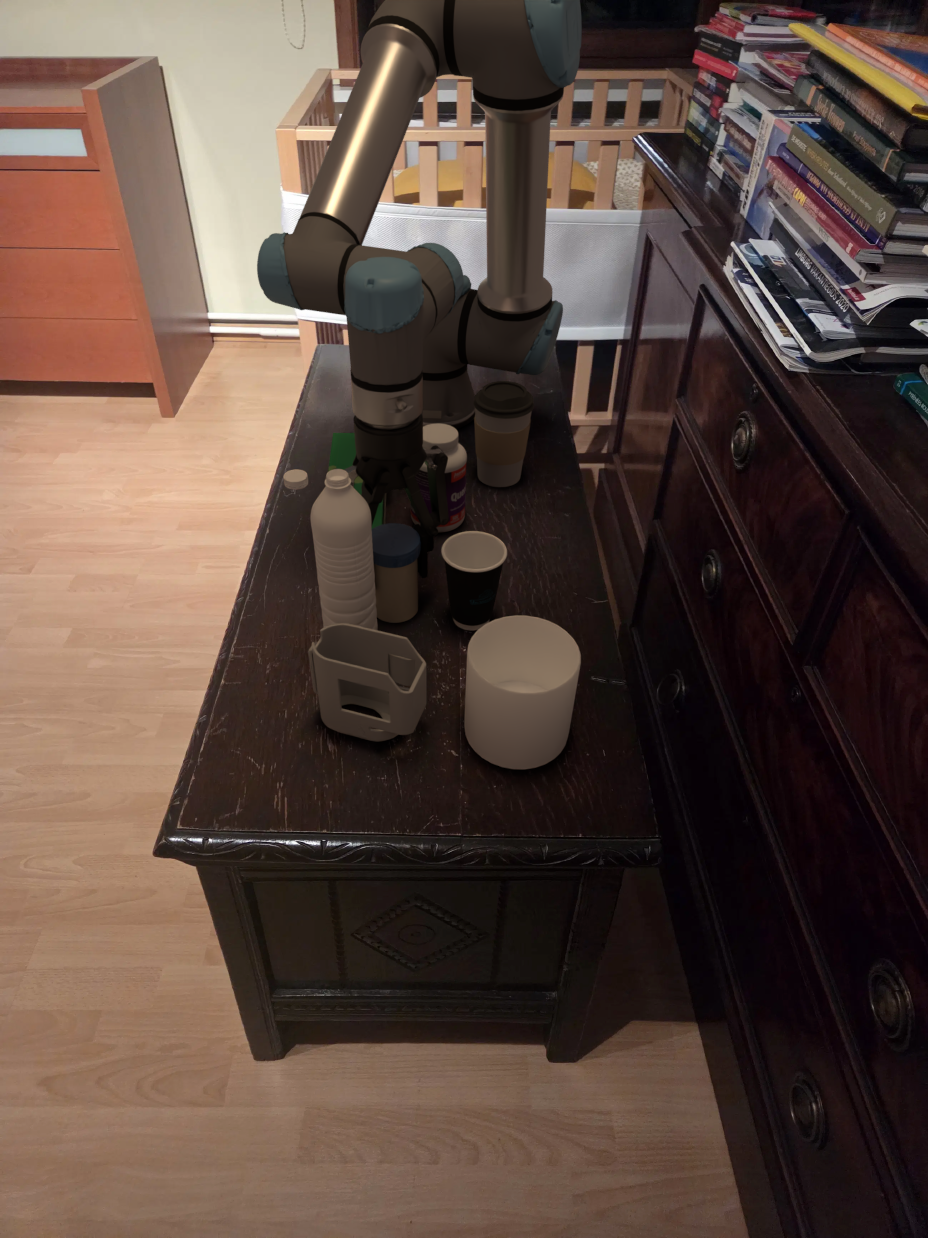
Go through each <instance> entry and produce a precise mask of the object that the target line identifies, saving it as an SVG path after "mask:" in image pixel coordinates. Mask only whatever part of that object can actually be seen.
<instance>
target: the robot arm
mask: <svg viewBox="0 0 928 1238" xmlns="http://www.w3.org/2000/svg"><path fill="white" fill-rule="evenodd" d="M582 24H583V23H582V9H581V0H384V1H383V2H382V3H381V4H380V6H379V7H378V9H377V11H375V14H374V15H373V16H372V18H371V19H370V22H369V24H368V27H367V29H366V31H365V33H364V35H363V38H362V41H361V44H360V59H361V62H362V64H361V67H360V69H359V71H358V74H357V77H356V78H355V82H354V84H353V86H352V88H351V91H350V93H349V96H348V98H347V100H346V103H345V106H344V108H343V111H342V113H341V116H340V117H339V121H338V122H337V125H336V128H335V130H334V133H333V135H332V138H331V140H330V142H329V144H328V147H327V150H326V152H325V155H324V156H323V160H322V162H321V164H320V167H319V169H318V172H317V174H316V177H315V179H314V182H313V184H312V187H311V189H310V191H309V194H308V196H307V199H306V202H305V204H304V206H303V208H302V211H301V213H300V216H299V217H298V220H297V222H296V225H295V227H294V229H293V231H292V233H289V232H282V233H279V232H278V233H277V232H275V233H270V234H269V236H268V237H266V238H264V240H263V241H262V243H261V245H260V247H259V249H258V254H257V255H258V256H257V261H256V273H257V280H258V284H259V286H260V289H261V291H262V292H263V294H264V296H265V297H266V298H267V299H268V300H269V301H271V302H272V303H275V304H279V305H281V306H284V307H285V306H286V307H289V308H293V309H296V310H299V311H305V310H307V311H313V312H319V313H327V314H333V315H341V316H345V317H346V325H347V326H346V327H347V340H348V353H349V364H350V383H351V405H352V412H353V415H354V416H353V431H354V432H353V433H354V434H355V447H356V456H355V459H354V461H353V466H351V467H348V468H346V469H344V470H345V471H346V472H347V473H348V475H349V478H350V479H351V483H350V485H351V486H352V487H353V488H354V481H355V478H356V477H358V476H359V477H360V478H361V479H362V480H363V483H362V487H361V489H362V494H361V496H362V497H363V498H364V499H365V500H366V502H367V504H368V506H369V508H370V512H371V528H372V524H373V521H374V518H375V515H376V512H377V508H378V505H379V503H381V502H382V500H383V497H384V494H385V493H387V494H389V493H391V492H393V491H400V490H401V491H402V490H404V491H405V494H406V495H407V498H408V500H409V502H410V503H411V505H412V507H413V509H414V511H415V514H416V516H417V518H418V520H419V522H420V525H419V524H416V525H415V524H413V525H412V528H413V529H415V530H416V531H417V532H418V534H419V536H420V542H421V551H420V555H419V557H418V576H420V578H421V579H426V578H428V577H429V572H428V571H429V566H428V565H429V564H428V563H429V562H428V561H429V555H428V554H429V553H431V552H433V550H434V548H435V537H436V536H437V535H438V534H439V532H438V529H437V528H436V527H438V526H439V525H446V524H447V523H448V522H449V515H448V504H447V493H446V483H445V469H446V466H447V462H448V457H447V456H446V454H445V453H444V452H443V451H442V450H441V449H440V448H439V447H438V446H436V445H435V446H433V447H432V448H431V449H423V446H422V445H423V427H424V426H426V425H429V424H446V425H450V426H452V427H454V428H455V429H456V430H458V429H461V428H463V427H465V426H467V425H469V424H470V423H471V422H473V421H474V417H475V407H474V400H475V395H476V394H475V392H474V391H475V390H474V388H473V385H472V381H471V378H470V375H469V371H468V366H469V365H470V366H475V367H480V368H487V369H493V370H498V371H503V372H510V373H515V375H520V374H523V375H530V376H539V375H541V374H542V373H544V372H545V371H546V368H547V367H548V365H549V363H550V361H551V358H552V355H553V353H554V349H555V346H556V342H557V339H558V337H559V332H560V330H561V329H560V328H561V324H562V319H563V315H564V305H563V303H561V302H560V301H558V300H557V299H555V300H553V286H552V284H551V283H550V281H549V280H547V278H545V276H544V273H545V272H544V270H545V269H544V267H545V251H546V250H545V248H546V228H547V227H546V226H547V206H548V205H547V204H548V184H549V183H548V181H549V165H550V163H549V162H550V142H551V139H550V138H551V122H552V121H551V119H552V111H553V110H554V108H555V107H556V106H557V105H558V104H559V103H560V102H561V101H562V100H563V98H564V92H565V88H566V87H569V86H571V85H572V84H573V83H574V81H575V80H576V77H577V74H578V70H579V66H580V60H581V53H580V50H581V48H582V36H583V35H582V32H583V31H582V29H583V27H582V26H583V25H582ZM448 75H450V76H451V75H452V76H455V77H464V78H471V81H472V98H473V101H474V102H475V103H476V105H478V106H479V107H480V108H481V109H482V111H483V112H484V126H485V127H484V130H485V132H484V135H485V137H484V138H485V139H484V140H485V142H484V143H485V204H486V205H485V215H486V216H485V219H486V220H485V221H486V223H485V225H486V227H485V228H486V230H485V231H486V277H485V278H484V279H482V281H481V282H480V283H479V285H478V287H477V289H474V288H472V282H471V279H470V277H469V276H468V275H466V274H464V272H463V268H462V264H461V263H460V261H459V259H458V258H457V257H456V255H455V253H453V252H452V251H451V250H450V249H449V248H447V247H446V246H444V245H442V244H439V243H436V242H424V243H422V244H419V245H415V246H413V247H411V248H410V249H407V251H405V250H398V249H392V248H391V249H390V248H384V247H377V246H370V245H363V244H364V242H365V239H366V237H367V234H368V231H369V228H370V226H371V223H372V221H373V218H374V216H375V213H376V211H377V208H378V206H379V202H380V200H381V198H382V195H383V193H384V190H385V187H386V186H387V182H388V180H389V177H390V175H391V172H392V170H393V167H394V164H395V162H396V159H397V156H398V154H399V152H400V149H401V147H402V144H403V142H404V139H405V136H406V133H407V131H408V128H409V126H410V123H411V121H412V118H413V117H414V116H413V115H414V113H415V112H416V108H417V105H418V103H419V101H420V98H423V97H425V96H426V95H427V94H429V93H430V92H431V91H432V89H433V87H434V85H435V83H436V80H437V78H439V77H442V76H448ZM424 462H425V464H426V465H427V473H428V482H429V492H430V501H431V510H432V513H429V511H428V508H427V506H426V504H425V501H424V499H423V497H422V494H421V492H420V488H419V485H418V483H417V481H416V478H415V476H416V474H417V473H418V471H419V470H420V468H421V467H422V465H423V463H424ZM335 469H337V468H335Z"/></svg>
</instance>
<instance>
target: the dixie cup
mask: <svg viewBox="0 0 928 1238" xmlns="http://www.w3.org/2000/svg"><path fill="white" fill-rule="evenodd" d="M440 551H441V557H442V559H443V560H444V568H445V575H446V576H445V577H446V578H445V579H446V586H447V594H448V602H449V612H450V615H451V618H452V621H453V623H454V624H455V626H457V627H458V628H460V629H462V630H464V631H477V630H478V629H480V628H481V627H482V626H484V625H485V624H487V623H489V622H490V620H491V619H492V617H493V613H494V608H495V603H496V599H497V594H498V590H499V585H500V581H501V575H502V571H503V567H504V563H505V561H506V559H507V557H508V549H507V546H506V543H504V542H503V541H502V540H501V539H500V538H499V537H497V536H495V535H493V534H492V533H488V532H484V531H478V530H468V531H467V530H466V531H462V532H458V533H455V534H453V535H451V536H449V537H448V538H446V539H445V541H444V542H443V544H442V545H441V550H440Z"/></svg>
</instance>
